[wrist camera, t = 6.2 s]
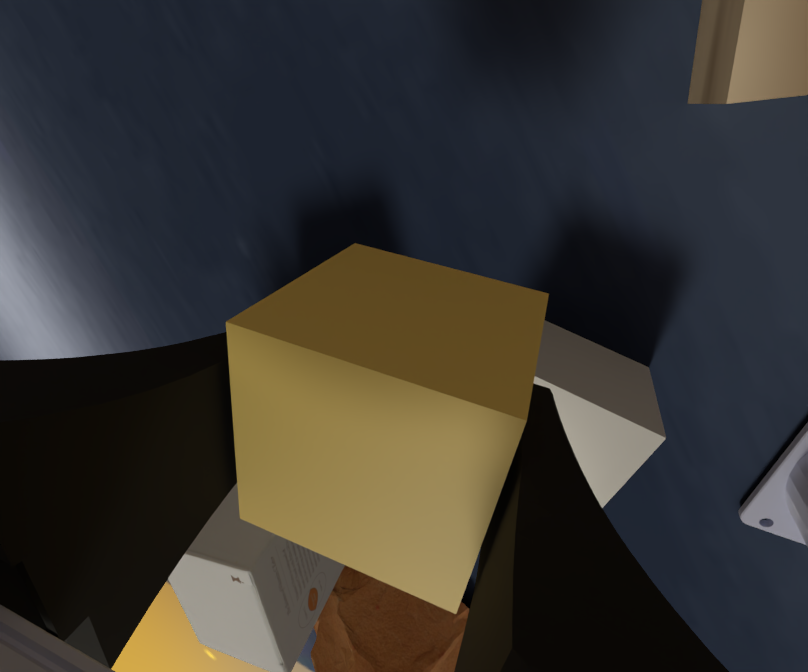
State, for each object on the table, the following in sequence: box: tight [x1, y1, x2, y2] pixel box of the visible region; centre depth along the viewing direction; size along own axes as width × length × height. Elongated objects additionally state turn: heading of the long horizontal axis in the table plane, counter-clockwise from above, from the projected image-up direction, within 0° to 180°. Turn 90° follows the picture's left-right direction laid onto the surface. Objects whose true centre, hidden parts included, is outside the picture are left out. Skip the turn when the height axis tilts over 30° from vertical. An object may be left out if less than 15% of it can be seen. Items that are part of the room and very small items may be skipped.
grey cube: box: [534, 320, 666, 508], centre depth 19 cm, size 5×5×5 cm
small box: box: [168, 483, 345, 672], centre depth 25 cm, size 8×6×10 cm
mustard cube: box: [226, 243, 549, 614], centre depth 10 cm, size 5×5×5 cm
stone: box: [311, 566, 470, 672], centre depth 32 cm, size 15×15×10 cm
